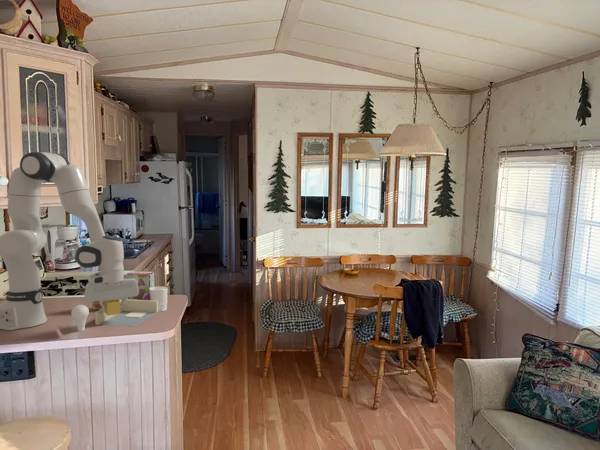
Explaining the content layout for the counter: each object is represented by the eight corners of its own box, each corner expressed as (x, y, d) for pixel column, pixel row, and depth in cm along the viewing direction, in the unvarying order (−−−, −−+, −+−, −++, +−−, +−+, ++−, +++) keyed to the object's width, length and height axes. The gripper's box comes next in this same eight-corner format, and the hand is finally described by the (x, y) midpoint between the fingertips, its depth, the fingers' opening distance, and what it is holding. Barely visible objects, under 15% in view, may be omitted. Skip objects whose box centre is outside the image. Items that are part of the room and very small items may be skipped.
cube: (107, 315, 181) (107, 303, 181) (104, 312, 185) (104, 300, 185) (120, 313, 184) (120, 301, 184) (117, 310, 188) (117, 298, 188)
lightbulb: (71, 335, 171) (70, 307, 170) (72, 331, 177) (71, 303, 176) (89, 333, 173) (88, 305, 172) (90, 328, 179) (88, 301, 178)
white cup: (146, 311, 203) (145, 289, 202) (157, 306, 210) (156, 285, 209) (160, 313, 200) (160, 291, 199) (171, 308, 207) (171, 287, 206)
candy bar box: (127, 308, 208) (126, 273, 206) (132, 305, 213) (131, 271, 211) (151, 309, 207) (149, 273, 205) (155, 306, 211) (154, 271, 210)
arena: (95, 326, 182) (94, 312, 181) (122, 312, 201) (121, 299, 201) (135, 328, 179) (134, 314, 179) (158, 313, 199) (157, 300, 198)
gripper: (136, 272, 192) (136, 304, 193) (83, 276, 180) (84, 310, 181) (140, 275, 187) (140, 307, 188) (86, 280, 175) (87, 314, 176)
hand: (112, 309), depth 184 cm, fingers closed on cube, 5 cm apart
